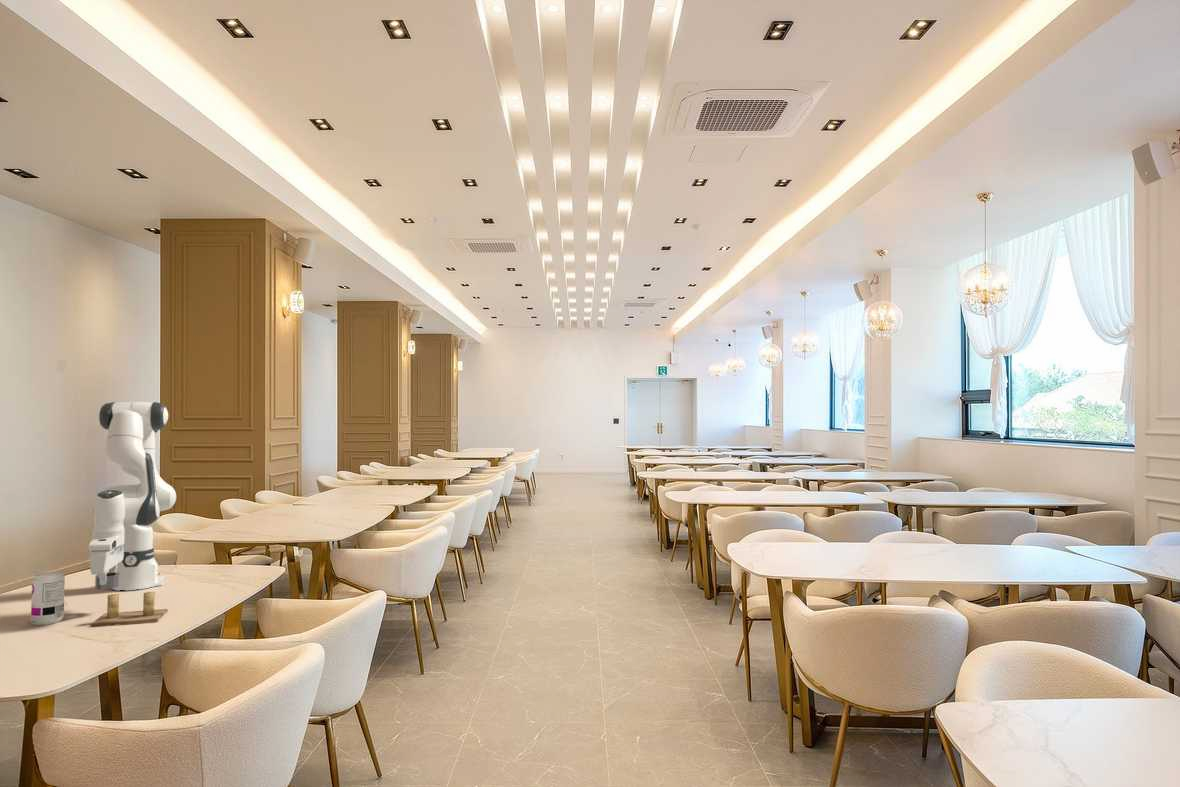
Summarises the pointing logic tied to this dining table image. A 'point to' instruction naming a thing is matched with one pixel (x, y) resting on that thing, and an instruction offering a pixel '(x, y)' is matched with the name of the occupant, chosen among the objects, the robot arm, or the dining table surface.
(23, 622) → the dining table surface
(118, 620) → the post board
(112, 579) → the ring
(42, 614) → the supplement can
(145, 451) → the robot arm
